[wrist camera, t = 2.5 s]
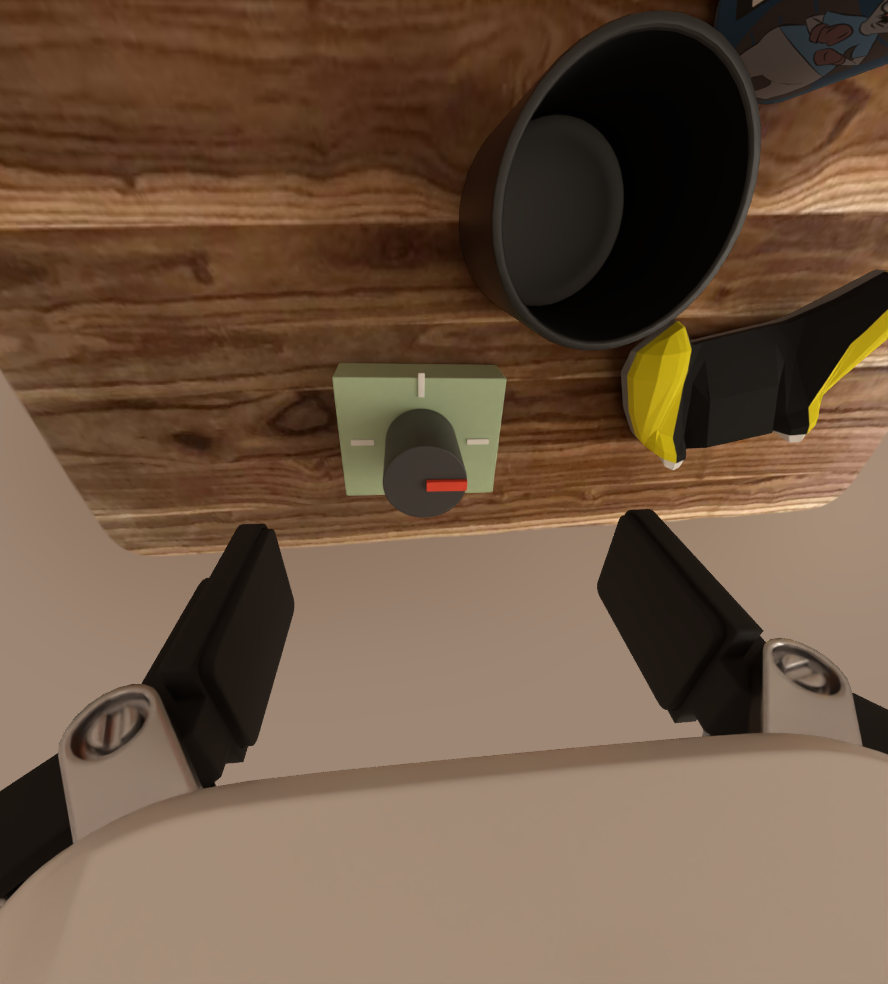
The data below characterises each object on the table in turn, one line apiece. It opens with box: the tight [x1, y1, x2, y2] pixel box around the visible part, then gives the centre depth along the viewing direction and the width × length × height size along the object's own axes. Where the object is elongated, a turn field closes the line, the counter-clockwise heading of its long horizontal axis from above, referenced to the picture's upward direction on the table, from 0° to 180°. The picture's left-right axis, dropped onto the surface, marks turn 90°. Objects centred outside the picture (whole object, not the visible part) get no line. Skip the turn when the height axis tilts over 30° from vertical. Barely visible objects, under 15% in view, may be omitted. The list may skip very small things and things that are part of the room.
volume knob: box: [383, 409, 468, 517], centre depth 22 cm, size 4×4×5 cm
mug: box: [459, 10, 761, 350], centre depth 17 cm, size 9×12×9 cm
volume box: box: [332, 363, 506, 495], centre depth 25 cm, size 10×9×3 cm
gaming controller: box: [621, 269, 888, 470], centre depth 24 cm, size 15×6×10 cm
